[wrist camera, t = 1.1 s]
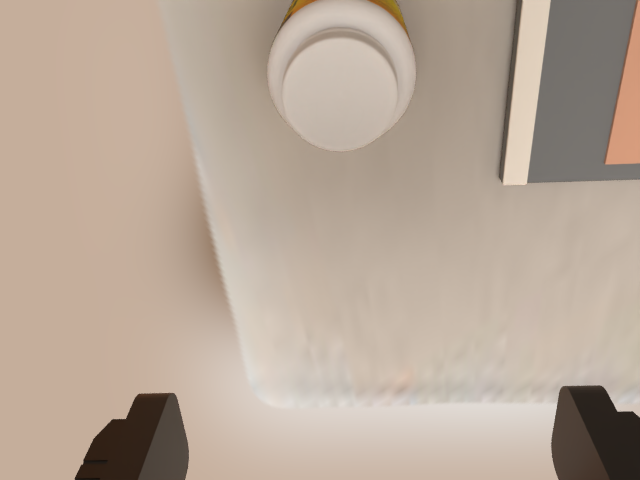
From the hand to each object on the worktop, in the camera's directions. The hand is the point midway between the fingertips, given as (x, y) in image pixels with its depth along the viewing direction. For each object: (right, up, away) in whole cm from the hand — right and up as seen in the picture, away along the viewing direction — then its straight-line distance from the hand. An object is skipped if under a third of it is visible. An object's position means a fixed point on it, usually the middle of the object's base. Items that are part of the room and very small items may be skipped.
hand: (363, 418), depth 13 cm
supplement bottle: (0, +14, +16) cm, 21 cm away
